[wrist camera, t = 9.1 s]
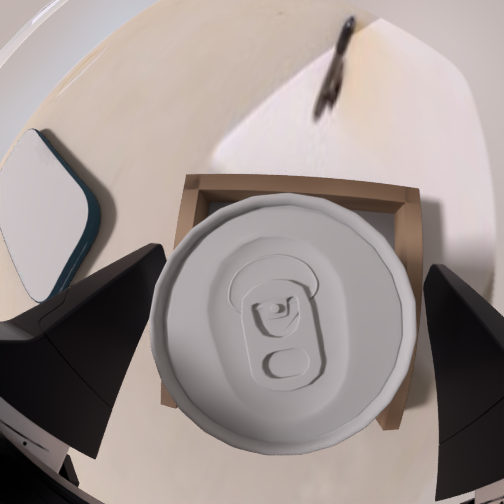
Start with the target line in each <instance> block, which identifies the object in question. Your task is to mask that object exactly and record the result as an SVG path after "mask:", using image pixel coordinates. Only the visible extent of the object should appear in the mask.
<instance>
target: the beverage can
mask: <svg viewBox="0 0 504 504" xmlns="http://www.w3.org/2000/svg"><path fill="white" fill-rule="evenodd" d="M149 322H150V338H151V351H152V354H153V357H154V360H155V363H156V366H157V369H158V372H159V375H160V378H161V381H162V383H163V384H164V386H165V387H166V389H167V391H168V392H169V394H170V395H171V397H172V398H173V400H174V401H175V403H176V404H177V406H178V407H179V409H180V410H181V411H182V412H183V413H184V414H185V415H186V416H187V417H189V418H190V419H191V420H192V421H193V422H194V423H195V424H196V425H197V426H198V427H200V428H201V429H202V430H203V431H204V432H206V433H208V434H209V435H211V436H213V437H215V438H217V439H219V440H221V441H222V442H224V443H226V444H228V445H230V446H232V447H234V448H238V449H242V450H246V451H250V452H254V453H259V454H263V455H302V454H306V453H310V452H314V451H318V450H321V449H325V448H328V447H331V446H335V445H337V444H338V443H340V442H342V441H344V440H346V439H347V438H349V437H351V436H353V435H354V434H356V433H358V432H359V431H361V430H363V429H364V428H366V427H367V426H368V425H369V424H370V423H371V422H372V421H373V420H374V419H375V418H376V417H377V416H378V415H379V414H380V413H381V412H382V411H383V410H384V409H385V408H386V407H387V406H388V405H389V404H390V402H391V401H392V399H393V397H394V396H395V394H396V392H397V391H398V389H399V387H400V385H401V384H402V382H403V380H404V378H405V376H406V375H407V373H408V370H409V366H410V363H411V359H412V355H413V351H414V346H415V342H416V338H417V323H416V301H415V297H414V294H413V291H412V288H411V284H410V281H409V278H408V275H407V272H406V270H405V267H404V265H403V264H402V262H401V260H400V259H399V257H398V256H397V254H396V253H395V251H394V250H393V248H392V247H391V245H390V244H389V243H388V241H387V240H386V238H385V237H384V236H383V235H382V234H381V233H380V232H378V231H377V230H376V229H375V228H374V227H373V226H371V225H370V224H369V223H368V222H367V221H365V220H364V219H363V218H362V217H361V216H359V215H358V214H357V213H355V212H353V211H351V210H348V209H346V208H344V207H342V206H340V205H338V204H335V203H333V202H331V201H329V200H326V199H324V198H319V197H313V196H307V195H300V194H294V193H280V194H270V195H260V196H252V197H250V198H247V199H244V200H242V201H239V202H236V203H234V204H231V205H229V206H226V207H223V208H221V209H219V210H218V211H216V212H215V213H213V214H212V215H210V216H209V217H208V218H206V219H205V220H203V221H202V222H201V223H199V224H198V225H196V226H195V227H194V228H192V229H191V230H190V231H189V233H188V234H187V235H186V236H185V237H184V239H183V240H182V241H181V242H180V243H179V245H178V246H177V247H176V248H175V249H174V251H173V252H172V253H171V254H170V256H169V258H168V260H167V262H166V264H165V266H164V268H163V270H162V272H161V274H160V277H159V279H158V281H157V283H156V285H155V290H154V295H153V300H152V306H151V311H150V317H149Z"/></svg>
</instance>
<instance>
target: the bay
mask: <svg viewBox="0 0 504 504" xmlns="http://www.w3.org/2000/svg"><path fill="white" fill-rule="evenodd" d="M280 193H294V194H300V195H307V196H313V197H319V198H324V199H326V200H329V201H331V202H333V203H335V204H338V205H340V206H342V207H344V208H346V209H348V210H351V211H353V212H355V213H357V214H358V215H359V216H361V217H362V218H363V219H364V220H365V221H367V222H368V223H369V224H370V225H371V226H373V227H374V228H375V229H376V230H377V231H378V232H380V233H381V234H382V235H383V236H384V237H385V238H386V240H387V241H388V243H389V244H390V245H391V247H392V248H393V250H394V251H395V253H396V254H397V256H398V257H399V259H400V260H401V262H402V264H403V265H404V267H405V270H406V272H407V275H408V278H409V281H410V284H411V288H412V291H413V294H414V297H415V301H416V323H417V338H416V342H415V346H414V351H413V355H412V359H411V363H410V366H409V370H408V373H407V375H406V376H405V378H404V380H403V382H402V384H401V385H400V387H399V389H398V391H397V392H396V394H395V396H394V397H393V399H392V401H391V402H390V404H389V405H388V406H387V407H386V408H385V409H384V410H383V411H382V412H381V413H380V414H379V415H378V416H377V417H376V420H377V421H378V423H379V425H380V426H381V428H382V429H383V430H395V429H399V426H400V423H401V419H402V416H403V412H404V408H405V404H406V400H407V396H408V391H409V387H410V382H411V377H412V371H413V366H414V360H415V354H416V347H417V340H418V332H419V323H420V312H421V299H422V277H423V240H422V218H421V205H420V194H419V189H418V188H411V187H405V186H397V185H390V184H382V183H374V182H365V181H355V180H345V179H333V178H321V177H306V176H287V175H260V174H190V175H186V179H185V184H184V189H183V194H182V200H181V205H180V211H179V217H178V223H177V229H176V236H175V242H174V249H175V248H176V247H177V246H178V245H179V243H180V242H181V241H182V240H183V239H184V237H185V236H186V235H187V234H188V233H189V231H190V230H191V229H192V228H194V227H195V226H196V225H198V224H199V223H201V222H202V221H203V220H205V219H206V218H208V217H209V216H210V215H212V214H213V213H215V212H216V211H218V210H219V209H221V208H223V207H226V206H229V205H231V204H234V203H236V202H239V201H242V200H244V199H247V198H250V197H252V196H260V195H270V194H280ZM174 249H173V251H174ZM161 404H162V405H165V406H169V407H172V408H177V407H178V406H177V404H176V403H175V401H174V400H173V398H172V397H171V395H170V394H169V392H168V391H167V389H166V387H165V386H164V384H163V383H162V381H161Z"/></svg>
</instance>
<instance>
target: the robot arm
mask: <svg viewBox="0 0 504 504" xmlns="http://www.w3.org/2000/svg"><path fill="white" fill-rule="evenodd" d="M166 262H167V260H166V257H165V253H164V249H163V246H162V245H161V244H156V243H150V244H148V245H146V246H144V247H142V248H140V249H138V250H136V251H134V252H132V253H130V254H128V255H127V256H125V257H123V258H121V259H119V260H117V261H115V262H114V263H112V264H110V265H108V266H106V267H104V268H103V269H101V270H99V271H97V272H95V273H93V274H92V275H90V276H88V277H86V278H85V279H83V280H81V281H79V282H78V283H76V284H74V285H72V286H71V287H70V288H67V289H65V290H64V291H62V292H60V293H59V294H57V295H55V296H53V297H52V298H50V299H48V300H46V301H44V302H43V303H41V304H39V305H37V306H35V307H33V308H31V309H29V310H28V311H26V312H24V313H22V314H20V315H18V316H17V317H15V318H13V319H11V320H7V321H3V322H0V504H104V503H103V502H101V501H99V500H97V499H96V498H94V497H92V496H91V495H89V494H87V493H86V492H84V491H82V490H81V489H79V488H78V485H79V481H78V478H77V475H76V473H75V470H74V467H73V464H72V461H71V458H70V455H68V454H67V452H68V450H69V448H70V447H72V448H74V449H76V450H77V451H79V452H81V453H83V454H85V455H87V456H89V457H91V458H93V459H96V457H97V454H98V451H99V448H100V445H101V442H102V439H103V436H104V433H105V430H106V427H107V424H108V421H109V418H110V415H111V412H112V408H113V406H114V404H115V401H116V398H117V395H118V393H119V390H120V387H121V385H122V382H123V380H124V377H125V375H126V372H127V369H128V367H129V364H130V362H131V360H132V357H133V355H134V352H135V350H136V347H137V345H138V343H139V340H140V338H141V336H142V333H143V331H144V329H145V326H146V324H147V322H148V320H149V317H150V311H151V306H152V300H153V295H154V290H155V285H156V283H157V281H158V279H159V277H160V274H161V272H162V270H163V268H164V266H165V264H166ZM423 291H424V299H425V306H426V315H427V325H428V332H429V338H430V344H431V350H432V356H433V363H434V371H435V380H436V390H437V402H438V421H439V444H440V445H439V453H438V474H437V486H436V496H435V501H440V500H444V499H447V498H451V497H454V496H458V495H461V494H465V493H467V492H471V491H474V490H475V498H473V499H470V500H468V501H465V502H463V503H460V504H504V317H503V316H502V315H501V314H500V313H499V312H498V311H497V310H496V309H495V308H494V307H493V306H491V305H490V304H489V303H488V302H487V301H486V300H485V299H484V298H483V297H482V296H480V295H479V294H478V293H477V292H476V291H475V290H474V289H472V288H471V287H470V286H469V285H468V284H467V283H465V282H464V281H463V280H462V279H461V278H459V277H458V276H457V275H456V274H455V273H453V272H452V271H451V270H450V269H448V268H447V267H446V266H445V265H443V264H433V265H432V266H431V267H430V269H429V272H428V275H427V277H426V280H425V282H424V286H423Z"/></svg>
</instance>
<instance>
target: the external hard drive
mask: <svg viewBox="0 0 504 504" xmlns="http://www.w3.org/2000/svg"><path fill="white" fill-rule="evenodd" d="M99 225H100V208H99V205H98V202H97V200H96V198H95V196H94V194H93V193H92V192H91V190H90V189H89V188H88V187H87V186H86V185H85V183H84V182H83V181H82V180H81V179H80V178H79V177H78V176H77V175H76V173H75V172H74V171H73V170H72V169H71V168H70V167H69V165H68V164H67V163H66V162H65V161H64V160H63V158H62V157H61V156H60V155H59V154H58V152H57V151H56V150H55V149H54V148H53V146H52V145H51V144H50V143H49V142H48V140H47V139H46V138H45V137H44V135H43V134H42V133H41V132H39V131H38V130H36V129H29V130H27V131H26V132H25V133H24V134H23V135H22V136H21V138H20V139H19V140H18V142H17V143H16V145H15V147H14V148H13V150H12V152H11V153H10V155H9V157H8V159H7V160H6V162H5V164H4V166H3V168H2V169H1V171H0V229H1V232H2V235H3V238H4V240H5V243H6V246H7V248H8V251H9V254H10V256H11V258H12V261H13V263H14V266H15V268H16V270H17V272H18V275H19V277H20V279H21V281H22V283H23V285H24V287H25V289H26V291H27V293H28V294H29V295H30V297H31V298H32V299H33V300H34V301H35V302H37V303H40V304H41V303H43V302H44V301H46V300H48V299H50V298H52V297H53V296H55V295H57V294H59V293H60V292H62V291H64V290H65V289H67V287H68V285H69V284H70V282H71V280H72V278H73V276H74V275H75V273H76V271H77V269H78V267H79V266H80V264H81V262H82V261H83V259H84V257H85V256H86V254H87V252H88V251H89V249H90V247H91V245H92V243H93V242H94V240H95V238H96V235H97V233H98V229H99Z"/></svg>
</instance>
